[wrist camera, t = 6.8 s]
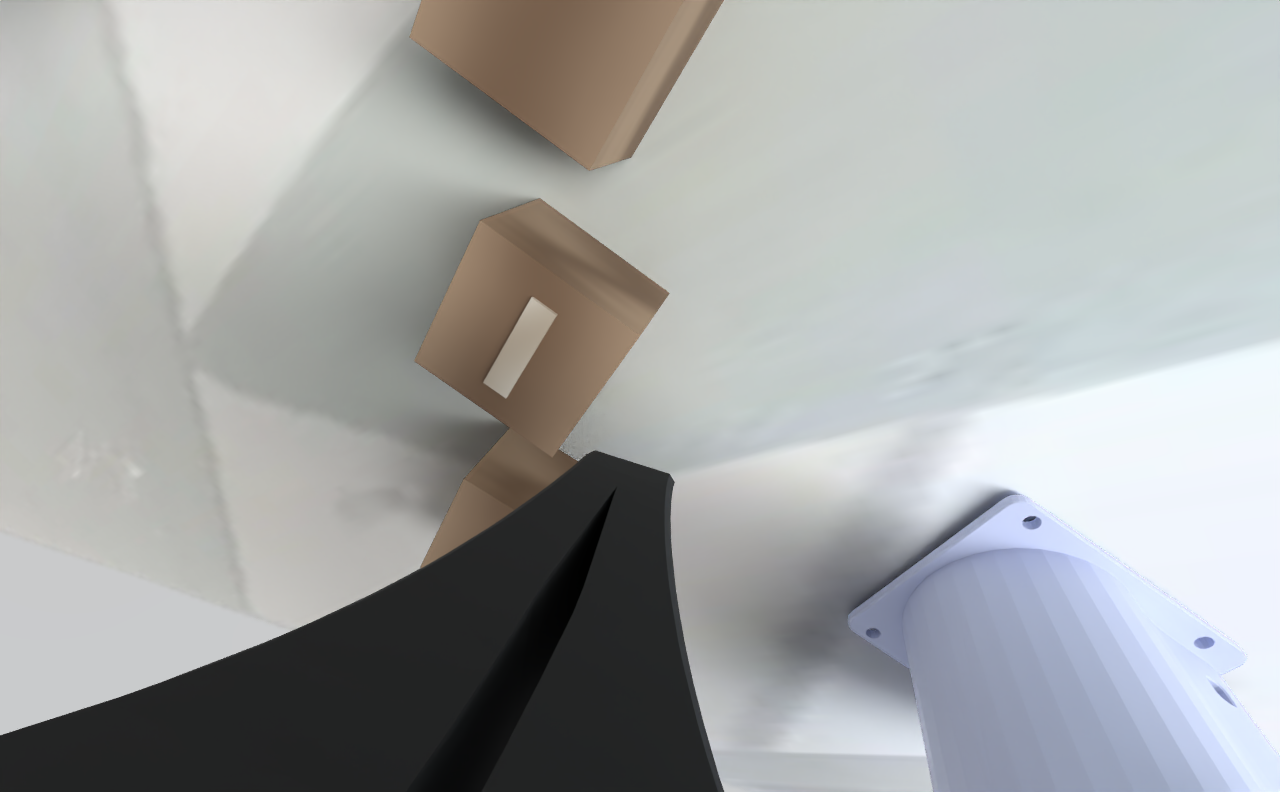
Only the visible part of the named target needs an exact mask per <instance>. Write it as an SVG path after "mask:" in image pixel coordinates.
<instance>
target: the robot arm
mask: <svg viewBox="0 0 1280 792" xmlns="http://www.w3.org/2000/svg"><path fill="white" fill-rule="evenodd" d="M674 483H675V482H674V480H673V479H672V477H671V475H670V474H668V473H665V472H662V471H659V470H655V469H652V468H649V467H646V466H643V465H640V464H636V463H633V462H630V461H627V460H624V459H620V458H617V457H614V456H611V455H608V454H605V453H601V452H598V451H593V452H591V453H589V454H587V455H586V456H584V457H583V458H582V459H581V460H580V461H579V462H577V463H576V464H575V465H574V466H572V467H571V468H570V469H569V470H568V471H566V472H565V473H564V474H563V475H561V476H560V477H559V478H557V479H556V480H555V481H554V482H552V483H551V484H550V485H548V486H547V487H546V488H544V489H543V490H542V491H540V492H539V493H538V494H536V495H535V496H534V497H532V498H531V499H529V500H528V501H526V502H525V503H524V504H522V505H521V506H519V507H518V508H517V509H515V510H514V511H512V512H511V513H509V514H508V515H507V516H505V517H504V518H502V519H501V520H499V521H498V522H496V523H495V524H493V525H492V526H490V527H489V528H487V529H485V530H484V531H482V532H481V533H479V534H477V535H476V536H474V537H473V538H471V539H469V540H468V541H466V542H465V543H463V544H461V545H460V546H458V547H456V548H455V549H453V550H452V551H450V552H448V553H447V554H445V555H443V556H442V557H440V558H438V559H436V560H435V561H433V562H431V563H429V564H428V565H426V566H424V567H422V568H421V569H419V570H417V571H415V572H413V573H411V574H410V575H408V576H406V577H404V578H402V579H400V580H398V581H396V582H394V583H392V584H390V585H388V586H387V587H385V588H383V589H381V590H379V591H377V592H375V593H373V594H371V595H369V596H367V597H365V598H363V599H360V600H358V601H356V602H354V603H352V604H350V605H348V606H346V607H343V608H341V609H339V610H337V611H335V612H333V613H331V614H328V615H326V616H324V617H322V618H320V619H318V620H316V621H313V622H311V623H309V624H307V625H304V626H302V627H300V628H298V629H295V630H293V631H291V632H288V633H286V634H284V635H281V636H279V637H277V638H274V639H272V640H269V641H267V642H265V643H262V644H260V645H257V646H254V647H252V648H249V649H246V650H244V651H241V652H239V653H236V654H234V655H231V656H229V657H226V658H223V659H221V660H218V661H216V662H213V663H210V664H208V665H205V666H202V667H200V668H197V669H195V670H192V671H189V672H187V673H184V674H182V675H179V676H176V677H174V678H171V679H169V680H166V681H164V682H161V683H158V684H155V685H152V686H149V687H147V688H144V689H141V690H138V691H135V692H133V693H130V694H127V695H124V696H121V697H119V698H116V699H112V700H109V701H106V702H103V703H100V704H97V705H94V706H91V707H87V708H84V709H81V710H78V711H75V712H72V713H69V714H66V715H62V716H60V717H56V718H53V719H50V720H47V721H44V722H41V723H38V724H35V725H31V726H28V727H25V728H22V729H19V730H16V731H13V732H10V733H7V734H3V735H0V792H724V790H723V787H722V784H721V781H720V778H719V775H718V772H717V768H716V765H715V761H714V758H713V754H712V751H711V747H710V744H709V740H708V737H707V733H706V730H705V726H704V723H703V719H702V715H701V711H700V707H699V703H698V700H697V696H696V692H695V688H694V684H693V679H692V675H691V671H690V666H689V662H688V657H687V652H686V647H685V642H684V637H683V631H682V625H681V620H680V614H679V608H678V601H677V594H676V587H675V578H674V569H673V559H672V548H671V522H670V515H671V498H672V490H673V486H674ZM1029 516H1036V518H1035V519H1034V520H1032V521H1030V522H1024V521H1023V520H1024V519H1025V518H1027V517H1029ZM848 625H849V628H850V629H851V630H852V631H853V632H854V633H856V634H857V635H859V636H860V637H862V638H863V639H865V640H866V641H868V642H869V643H871V644H872V645H874V646H875V647H877V648H878V649H880V650H881V651H883V652H884V653H886V654H887V655H889V656H890V657H892V658H893V659H895V660H896V661H897V662H899V663H900V664H902V665H903V666H905V667H906V668H908V669H909V670H910V672H911V678H912V683H913V688H914V693H915V699H916V704H917V709H918V714H919V719H920V725H921V730H922V735H923V740H924V745H925V751H926V756H927V761H928V766H929V771H930V777H931V782H932V787H933V792H1280V755H1279V754H1278V753H1277V751H1276V750H1275V749H1274V747H1273V746H1272V745H1271V743H1270V742H1269V740H1268V739H1267V738H1266V736H1265V735H1264V734H1263V732H1262V731H1261V730H1260V728H1259V727H1258V725H1257V724H1256V723H1255V721H1254V720H1253V719H1252V717H1251V716H1250V715H1249V713H1248V712H1247V710H1246V709H1245V708H1244V706H1243V705H1242V704H1241V702H1240V701H1239V700H1238V698H1237V697H1236V695H1235V694H1234V693H1233V691H1232V690H1231V689H1230V687H1229V686H1228V685H1227V683H1226V682H1225V680H1224V679H1223V678H1222V676H1221V675H1223V674H1225V673H1227V672H1229V671H1231V670H1234V669H1236V668H1238V667H1240V666H1241V665H1243V664H1244V663H1245V662H1246V660H1247V654H1246V653H1245V652H1244V651H1243V649H1242V648H1241V647H1240V646H1239V645H1238V644H1237V643H1236V642H1235V641H1233V640H1232V639H1230V638H1229V637H1228V636H1226V635H1225V634H1223V633H1222V632H1220V631H1219V630H1218V629H1216V628H1215V627H1213V626H1212V625H1210V624H1209V623H1208V622H1206V621H1205V620H1203V619H1202V618H1200V617H1199V616H1198V615H1196V614H1195V613H1193V612H1192V611H1190V610H1189V609H1188V608H1186V607H1185V606H1183V605H1182V604H1180V603H1179V602H1178V601H1176V600H1175V599H1173V598H1172V597H1170V596H1169V595H1167V594H1166V593H1165V592H1163V591H1162V590H1160V589H1159V588H1157V587H1156V586H1155V585H1153V584H1152V583H1150V582H1149V581H1147V580H1146V579H1145V578H1143V577H1142V576H1140V575H1139V574H1137V573H1136V572H1135V571H1133V570H1132V569H1130V568H1129V567H1127V566H1126V565H1125V564H1123V563H1122V562H1120V561H1119V560H1117V559H1116V558H1115V557H1113V556H1112V555H1110V554H1109V553H1107V552H1106V551H1104V550H1103V549H1102V548H1100V547H1099V546H1097V545H1096V544H1094V543H1093V542H1092V541H1090V540H1089V539H1087V538H1086V537H1084V536H1083V535H1082V534H1080V533H1079V532H1077V531H1076V530H1074V529H1073V528H1072V527H1070V526H1069V525H1067V524H1066V523H1064V522H1063V521H1062V520H1060V519H1059V518H1057V517H1056V516H1054V515H1053V514H1052V513H1050V512H1049V511H1047V510H1046V509H1044V508H1043V507H1042V506H1040V505H1039V504H1037V503H1036V502H1034V501H1033V500H1031V499H1030V498H1028V497H1026V496H1024V495H1017V494H1016V495H1010V496H1008V497H1006V498H1004V499H1002V500H1001V501H1000V502H998V503H997V504H996V505H994V506H993V507H991V508H990V509H989V510H987V511H986V512H985V513H983V514H982V515H981V516H979V517H978V518H977V519H975V520H974V521H973V522H971V523H970V524H969V525H967V526H966V527H965V528H963V529H962V530H961V531H959V532H958V533H956V534H955V535H954V536H952V537H951V538H950V539H948V540H947V541H946V542H944V543H943V544H942V545H940V546H939V547H938V548H936V549H935V550H934V551H932V552H931V553H930V554H928V555H927V556H926V557H924V558H923V559H922V560H920V561H919V562H917V563H916V564H915V565H913V566H912V567H911V568H909V569H908V570H907V571H905V572H904V573H903V574H901V575H900V576H899V577H897V578H896V579H895V580H893V581H892V582H891V583H889V584H888V585H887V586H885V587H884V588H883V589H881V590H880V591H878V592H877V593H876V594H874V595H873V596H872V597H870V598H869V599H868V600H866V601H865V602H864V603H862V604H861V605H860V606H858V607H857V608H856V609H854V610H853V611H852V612H851V613H850V614H849V615H848ZM870 628H875V629H876V630H869V629H870ZM1201 637H1203V638H1201ZM1197 638H1199V639H1197Z"/></svg>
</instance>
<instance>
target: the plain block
mask: <svg viewBox="0 0 1280 792" xmlns="http://www.w3.org/2000/svg"><path fill="white" fill-rule="evenodd" d="M723 1H724V0H422V1H421V4H420V7H419V10H418V13H417V16H416V19H415V22H414V25H413V28H412V31H411V34H410V38H411V39H412V40H414V41H415V42H416V43H418V44H419V45H420V46H422V47H423V48H425V49H426V50H427V51H429V52H430V53H431V54H433V55H434V56H435V57H437V58H438V59H439V60H441V61H442V62H443V63H445V64H446V65H447V66H449V67H450V68H451V69H453V70H454V71H456V72H457V73H458V74H460V75H461V76H462V77H464V78H465V79H466V80H468V81H469V82H470V83H472V84H473V85H474V86H476V87H477V88H478V89H480V90H481V91H482V92H484V93H485V94H487V95H488V96H489V97H491V98H492V99H493V100H495V101H496V102H497V103H499V104H500V105H501V106H503V107H504V108H505V109H507V110H508V111H509V112H511V113H512V114H513V115H515V116H516V117H518V118H519V119H520V120H522V121H523V122H524V123H526V124H527V125H528V126H530V127H531V128H532V129H534V130H535V131H536V132H538V133H539V134H540V135H542V136H543V137H544V138H546V139H547V140H549V141H550V142H551V143H553V144H554V145H555V146H557V147H558V148H559V149H561V150H562V151H563V152H565V153H566V154H567V155H569V156H570V157H571V158H573V159H574V160H575V161H577V162H578V163H580V164H581V165H582V166H584V167H585V168H586V169H588V170H589V171H590V170H593V169H596V168H600V167H603V166H606V165H609V164H612V163H615V162H618V161H621V160H624V159H628V158H631V157H632V155H633V154H634V152H635V150H636V149H637V147H638V145H639V143H640V142H641V140H642V138H643V137H644V135H645V133H646V132H647V130H648V128H649V126H650V125H651V123H652V121H653V120H654V118H655V116H656V115H657V113H658V111H659V109H660V108H661V106H662V104H663V103H664V101H665V99H666V98H667V96H668V94H669V92H670V91H671V89H672V87H673V86H674V84H675V82H676V81H677V79H678V77H679V75H680V74H681V72H682V70H683V69H684V67H685V65H686V64H687V62H688V60H689V58H690V57H691V55H692V53H693V52H694V50H695V48H696V47H697V45H698V43H699V41H700V40H701V38H702V36H703V35H704V33H705V31H706V30H707V28H708V26H709V24H710V23H711V21H712V19H713V18H714V16H715V14H716V13H717V11H718V9H719V7H720V6H721V4H722V2H723Z"/></svg>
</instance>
